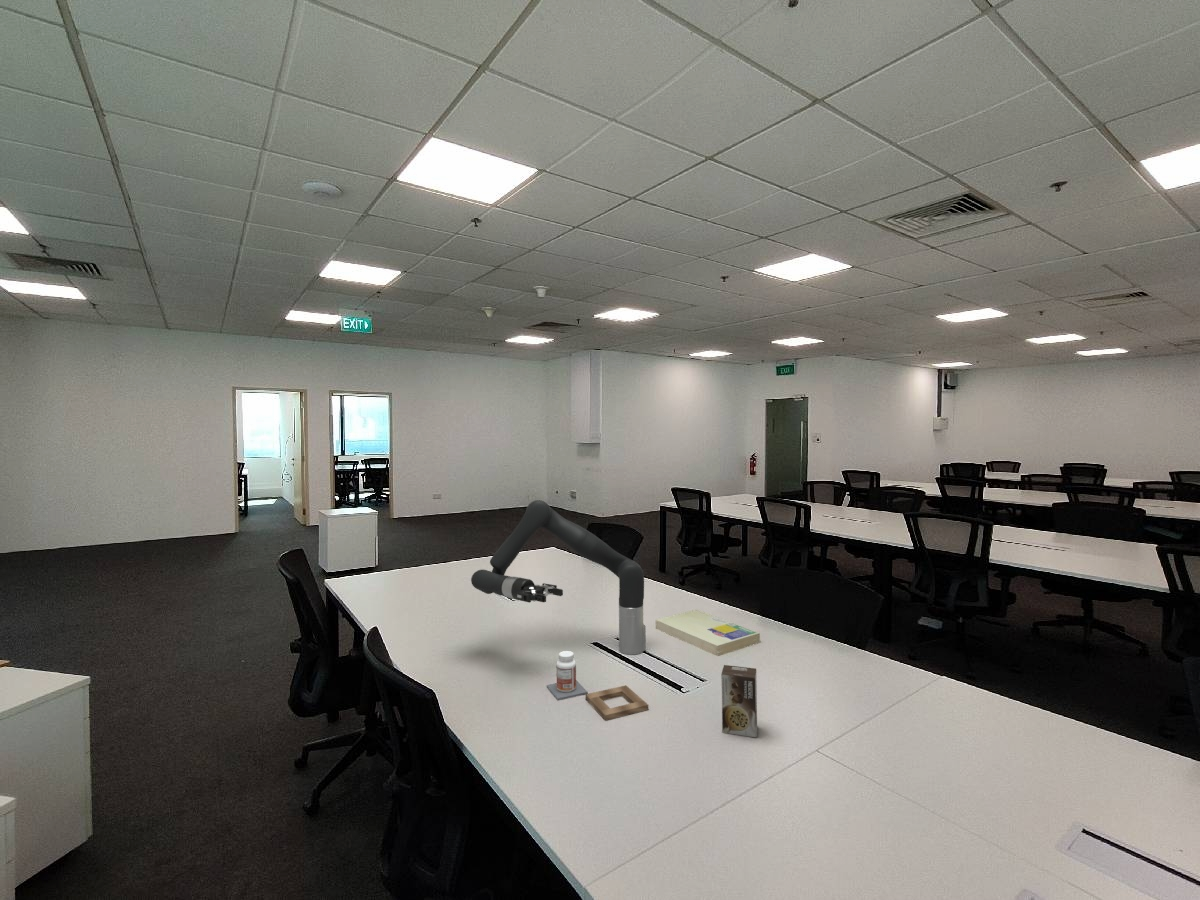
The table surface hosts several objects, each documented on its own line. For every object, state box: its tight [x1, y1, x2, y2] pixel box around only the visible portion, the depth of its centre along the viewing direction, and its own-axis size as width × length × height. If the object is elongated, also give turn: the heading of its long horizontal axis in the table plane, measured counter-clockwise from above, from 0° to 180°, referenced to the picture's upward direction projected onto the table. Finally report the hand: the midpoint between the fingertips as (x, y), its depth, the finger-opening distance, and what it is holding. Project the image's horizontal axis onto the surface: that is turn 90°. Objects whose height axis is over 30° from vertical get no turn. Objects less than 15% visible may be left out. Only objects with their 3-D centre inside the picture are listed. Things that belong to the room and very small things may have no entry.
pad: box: [546, 679, 589, 701], centre depth 169 cm, size 10×10×1 cm
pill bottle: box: [556, 650, 577, 692], centre depth 169 cm, size 6×6×11 cm
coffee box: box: [720, 664, 758, 738], centre depth 145 cm, size 9×6×16 cm
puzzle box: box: [655, 609, 761, 657], centre depth 216 cm, size 36×5×24 cm
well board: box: [585, 685, 649, 722], centre depth 159 cm, size 14×14×2 cm
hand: (554, 595), depth 175 cm, fingers open, 8 cm apart
